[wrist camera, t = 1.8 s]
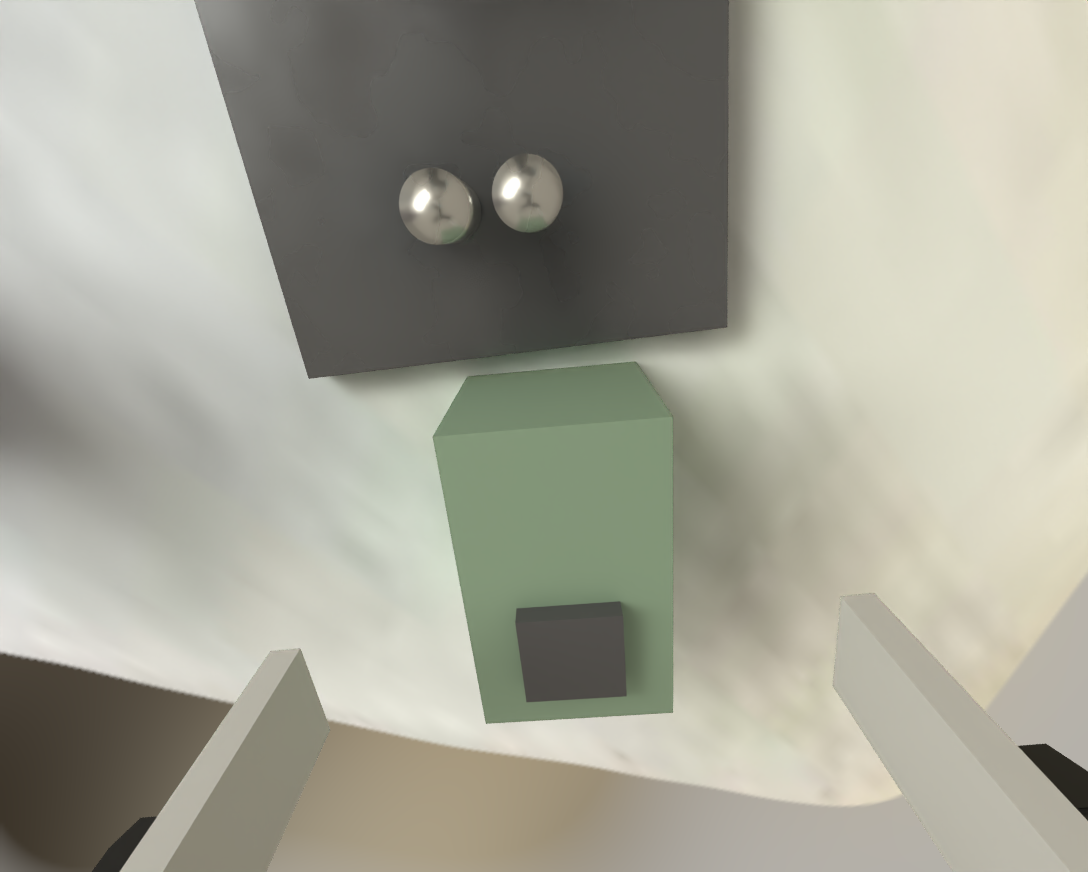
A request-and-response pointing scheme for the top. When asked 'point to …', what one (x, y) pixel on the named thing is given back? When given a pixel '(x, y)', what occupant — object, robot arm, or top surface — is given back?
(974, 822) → the robot arm
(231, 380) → the top surface
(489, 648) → the green block
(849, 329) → the top surface
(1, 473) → the top surface
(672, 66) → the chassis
